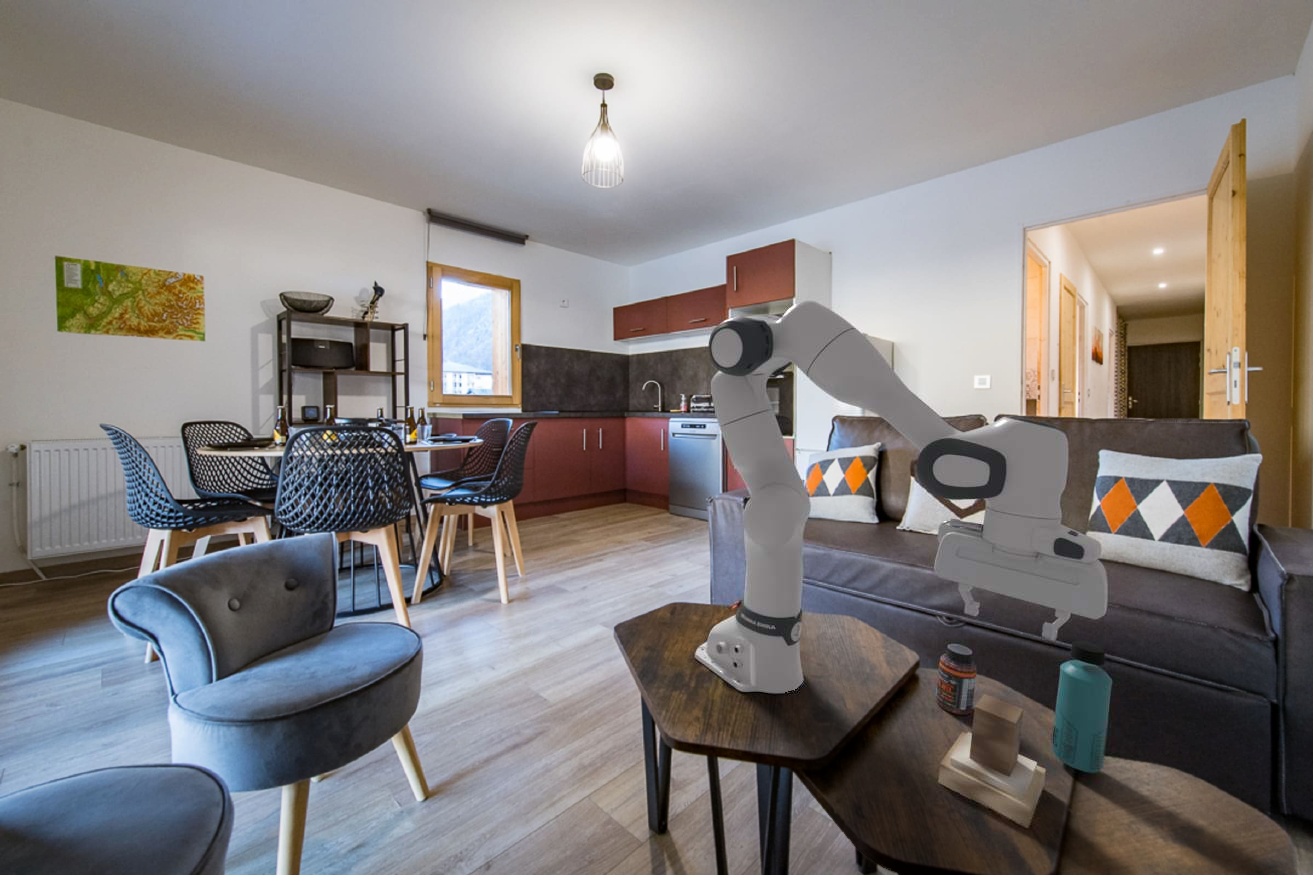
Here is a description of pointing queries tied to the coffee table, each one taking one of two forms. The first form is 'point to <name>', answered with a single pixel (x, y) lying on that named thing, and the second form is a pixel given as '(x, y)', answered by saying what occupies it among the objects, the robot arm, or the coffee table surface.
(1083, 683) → the beverage bottle
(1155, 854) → the coffee table surface
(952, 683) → the supplement bottle
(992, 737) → the walnut block
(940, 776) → the pedestal
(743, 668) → the robot arm
